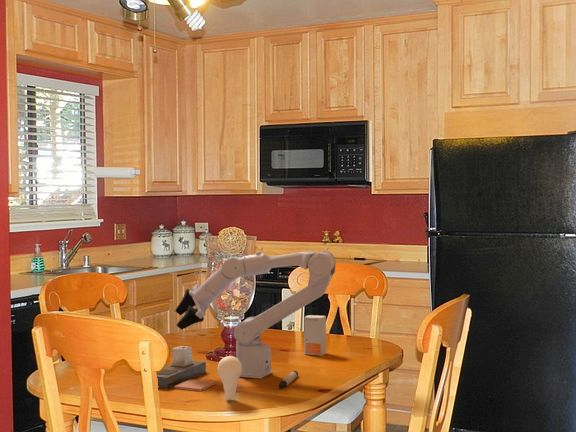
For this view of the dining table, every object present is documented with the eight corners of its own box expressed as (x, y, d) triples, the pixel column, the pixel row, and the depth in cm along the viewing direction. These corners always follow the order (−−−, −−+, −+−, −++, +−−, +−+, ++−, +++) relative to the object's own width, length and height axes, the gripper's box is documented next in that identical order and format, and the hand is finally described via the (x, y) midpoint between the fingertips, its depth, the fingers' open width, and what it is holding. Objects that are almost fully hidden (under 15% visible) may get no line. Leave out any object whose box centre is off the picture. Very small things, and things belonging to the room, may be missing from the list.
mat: (215, 384, 211) (215, 381, 211) (200, 391, 204) (200, 388, 204) (190, 381, 215) (190, 379, 215) (174, 388, 208) (174, 386, 207)
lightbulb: (218, 397, 198) (217, 354, 197) (242, 396, 198) (241, 353, 198) (217, 404, 192) (217, 359, 191) (243, 403, 192) (242, 358, 192)
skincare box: (304, 354, 247) (303, 316, 247) (308, 352, 251) (308, 314, 251) (322, 356, 245) (321, 317, 245) (326, 353, 249) (326, 315, 249)
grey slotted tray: (205, 372, 225) (205, 361, 225) (167, 388, 207) (167, 377, 207) (182, 370, 229) (181, 359, 229) (142, 386, 210) (141, 374, 210)
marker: (291, 377, 219) (291, 370, 219) (298, 377, 219) (298, 370, 219) (275, 391, 204) (275, 383, 204) (283, 391, 204) (283, 383, 204)
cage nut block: (192, 374, 223) (192, 346, 222) (185, 378, 219) (184, 349, 219) (180, 373, 224) (179, 345, 224) (172, 376, 221) (172, 348, 220)
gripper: (199, 268, 228) (167, 299, 230) (203, 294, 215) (169, 326, 218) (216, 282, 231) (184, 312, 233) (222, 308, 218) (188, 339, 221)
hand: (178, 319), depth 226 cm, fingers open, 7 cm apart
